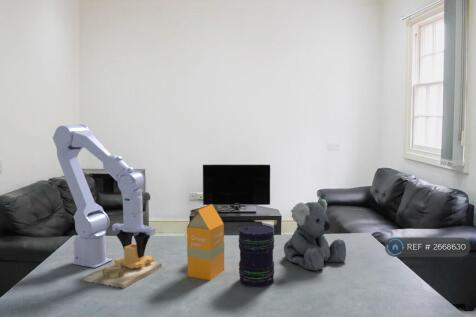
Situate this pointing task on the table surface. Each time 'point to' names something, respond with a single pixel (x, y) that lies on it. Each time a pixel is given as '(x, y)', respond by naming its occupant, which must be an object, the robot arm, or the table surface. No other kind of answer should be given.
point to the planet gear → (133, 258)
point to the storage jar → (256, 255)
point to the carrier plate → (121, 274)
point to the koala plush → (312, 238)
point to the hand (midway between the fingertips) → (134, 255)
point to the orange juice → (205, 244)
